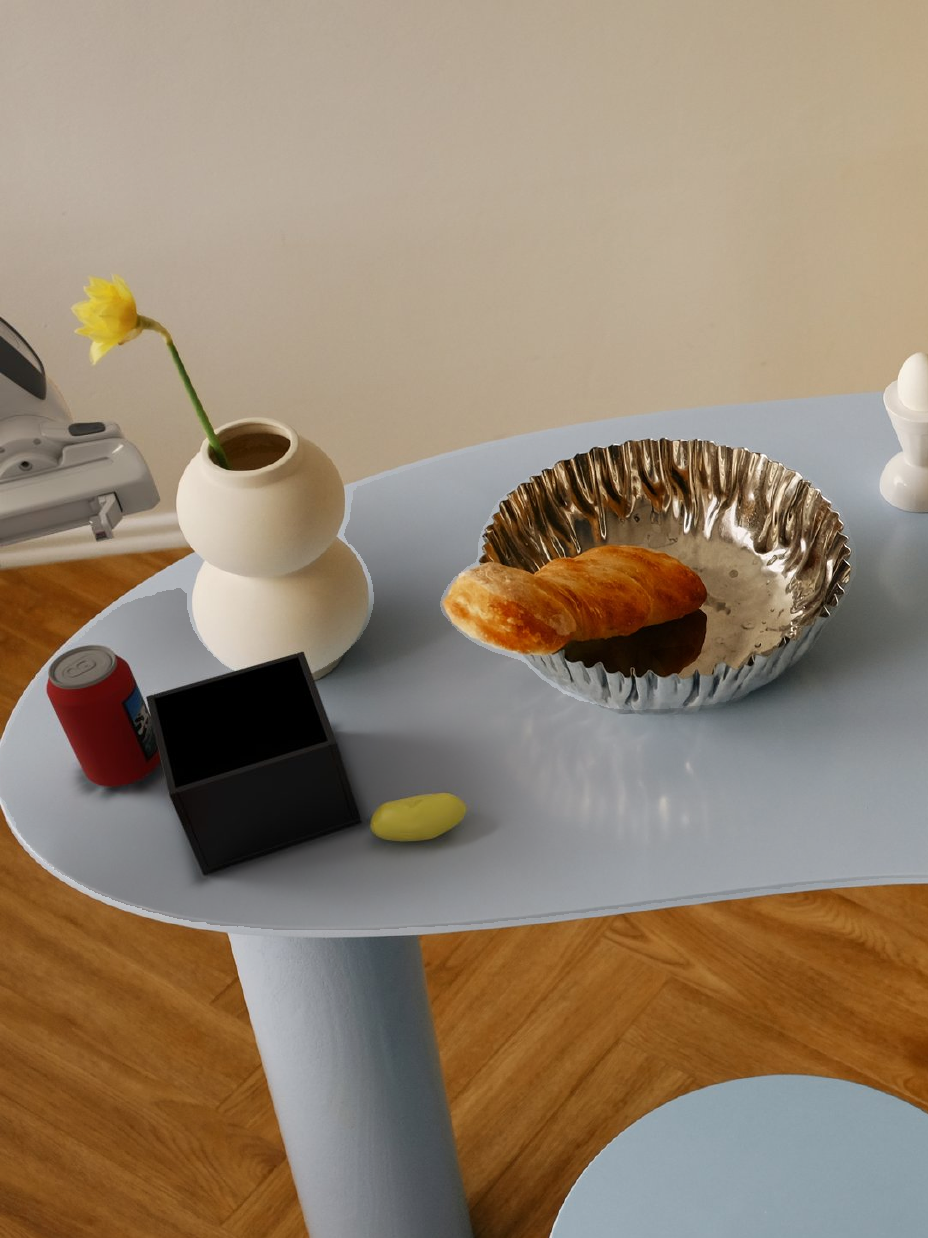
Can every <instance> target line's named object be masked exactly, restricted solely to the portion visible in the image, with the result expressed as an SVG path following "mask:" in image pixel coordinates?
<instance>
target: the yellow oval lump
mask: <svg viewBox="0 0 928 1238" xmlns="http://www.w3.org/2000/svg"><path fill="white" fill-rule="evenodd" d="M467 809H468V808H467V805H466V803H465V802H464V801H463V800H462V799H460V797H458V796H456V795H454V794H452V793H449V792H439V793H438V792H437V793H429V794H420V795H419V794H418V795H414V796H409V797H405V798H401V799H395V800H390V801H387V802H384V803H382V804H381V805H379V806H378V807H377V808H376V809H375V811H374V813H373V815H372V816H371V819H370V825H369V827H370V830H371V832H373V834H374V835H375V836H377V837H378V838H379V839H382V840H386V841H394V842H417V841H426V840H432V839H435V838H437V837H439V836H441V835H442V834H444V833H446V832H449V830H451V829H453V828H455V827H456V826H457V825H459V824H460V822H461V821H462V820H463V819H464V817H465V815H466V813H467Z"/></svg>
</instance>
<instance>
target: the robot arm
mask: <svg viewBox="0 0 928 1238" xmlns="http://www.w3.org/2000/svg"><path fill="white" fill-rule="evenodd" d="M160 502H161V496H160V494H159V490H158V487H157V485H156V482H155V480H154V477H153V474H152V472H151V470H150V468H149V465H148V463H147V461H146V459H145V457H144V455H143V453H142V452H141V451H140V449H139V448H138V447H137V445H135V444H134V443H133V442H132V441H130V440H128V439H127V438H126V436H125V434H124V432H123V430H122V429H121V428H120V425H119V423H117V422H116V421H113V420H105V421H104V420H103V421H90V422H88V421H87V422H74V419H73V416H72V413H71V410H70V408H69V405H68V403H67V401H66V399H65V397H64V395H63V394H62V392H61V390H60V389H59V387H58V386H57V385H56V383H55V382H54V381H53V379H52V378H51V377H50V376H49V375H48V374H47V373H46V371H45V366H44V364H43V362H42V360H41V359H40V357H39V355H38V354H37V353H36V351H35V350H34V349H33V347H32V346H31V345H30V344H29V343H28V341H27V340H26V339H25V337H23V335H22V334H20V332H18V330H17V329H15V327H14V326H13V325H11V324H10V323H9V322H8V321H7V320H5V319H4V318H3V317H1V316H0V548H3V547H7V546H12V545H15V544H20V543H23V542H28V541H30V540H35V539H39V538H42V537H48V536H51V535H55V534H58V533H62V532H66V531H70V530H75V529H78V528H82V527H86V526H90V529H91V531H92V534H93V536H94V539H95V541H96V542H97V543H98V542H102V541H106V540H110V539H114V538H115V535H114V531H113V530H114V529H115V528H116V527H117V526H118V524H119V523H120V522H121V521H122V520H123V518H124V517H126V516H130V515H134V514H138V513H142V512H146V511H150V510H152V509H155V507H157V505H158V504H159V503H160ZM1 566H2V564H1V563H0V567H1Z"/></svg>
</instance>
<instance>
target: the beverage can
mask: <svg viewBox="0 0 928 1238" xmlns="http://www.w3.org/2000/svg"><path fill="white" fill-rule="evenodd" d="M47 673H48V678H47V683H46V687H45V688H46V689H45V690H46V695H47V697H48V699H49V701H50V703H51V706H52V708H53V711H54V712H55V715H56V717H57V719H58V721H59V723H60V726H61V728H62V729H63V732H64V734H65V736H66V739H67V740H68V743H69V745H70V746H71V749H72V750H73V752H74V755H75V757H76V759H77V760H78V761H77V762H78V763H79V764H80V767H81V769H82V771H83V773H84V775H85V777H86V778H87V779H88V780H89V781H90V782H92V783H93V784H95V785H98V786H102V787H119V786H120V787H121V786H125V785H129V784H133V783H135V782H137V781H140V780H142V779H143V778H146V777H147V776H148V775H150V774H151V773H152V772H153V771H154V770H155V769H157V767H158V766H159V765H160V763H161V758H160V754H159V750H158V746H157V741H156V737H155V733H154V729H153V724H152V720H151V716H150V712H149V708H148V705H147V704H146V702H145V699H144V697H143V694H142V692H141V690H140V687H139V686H138V683H137V680H136V677H135V675H134V673H133V671H132V669H131V667H130V664H129V663H128V662H127V661H126V660H125V659H124V658H122V657H121V656H120V655H117V654H116V653H115V652H114V651H113V650H112V649H111V648H110V647H107V646H105V645H100V644H87V645H81V646H77V647H73V648H72V649H69V650H67V651H65V652H63V653H62V654H60V655H59V656H57V657H56V658H55V659H54V660H53V661H52V662H51V664H50V665H49V668H48V672H47Z"/></svg>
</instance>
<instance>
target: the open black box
mask: <svg viewBox="0 0 928 1238" xmlns="http://www.w3.org/2000/svg"><path fill="white" fill-rule="evenodd" d="M145 698H146V703H147V708H148V711H149V713H150V716H151V720H152V724H153V729H154V733H155V737H156V741H157V746H158V750H159V754H160V758H161V762H160V763H161V767H162V771H163V774H164V780H165V784H166V788H167V792H168V796H169V798H170V800H171V803H172V805H173V808H174V810H175V812H176V814H177V817H178V819H179V822H180V824H181V826H182V829H183V831H184V833H185V836H186V838H187V841H188V843H189V846H190V847H191V850H192V852H193V854H194V857H195V859H196V861H197V863H198V866H199V869H200V871H201V873H202V875H203V876H207V875H210V874H213V873H215V872H219V871H222V870H224V869H228V868H230V867H233V866H238V865H240V864H243V863H247V862H249V861H253V860H255V859H258V858H261V857H264V856H267V855H270V854H272V853H273V854H274V853H277V852H279V851H282V850H285V849H288V848H292V847H294V846H298V845H301V844H304V843H306V842H309V841H312V840H316V839H318V838H322V837H325V836H328V835H330V834H333V833H336V832H339V831H342V830H347V829H349V828H352V827H354V826H359V825H362V823H363V822H362V821H363V820H362V818H361V814H360V812H359V808H358V806H357V805H358V804H357V802H356V799H355V796H354V792H353V789H352V786H351V782H350V780H349V777H348V774H347V769H346V767H345V764H344V760H343V757H342V754H341V751H340V747H339V745H338V741H337V738H336V736H335V733H334V730H333V728H332V725H331V722H330V720H329V717H328V714H327V711H326V709H325V707H324V703H323V700H322V698H321V695H320V692H319V689H318V687H317V684H316V682H315V678H314V676H313V674H312V671H311V668H310V665H309V663H308V659H307V657H306V654H305V652H304V651H300V652H297V653H293V654H289V655H285V656H282V657H279V658H275V659H272V660H269V661H265V662H262V663H257V664H255V665H251V666H247V667H243V668H241V669H237V670H233V671H230V672H227V673H223V674H219V675H216V676H212V677H209V678H205V679H202V680H199V681H196V682H192V683H188V684H184V685H181V686H178V687H175V688H171V689H168V690H165V691H161V692H157V693H154V694H150V695H147V696H146V697H145Z"/></svg>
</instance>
